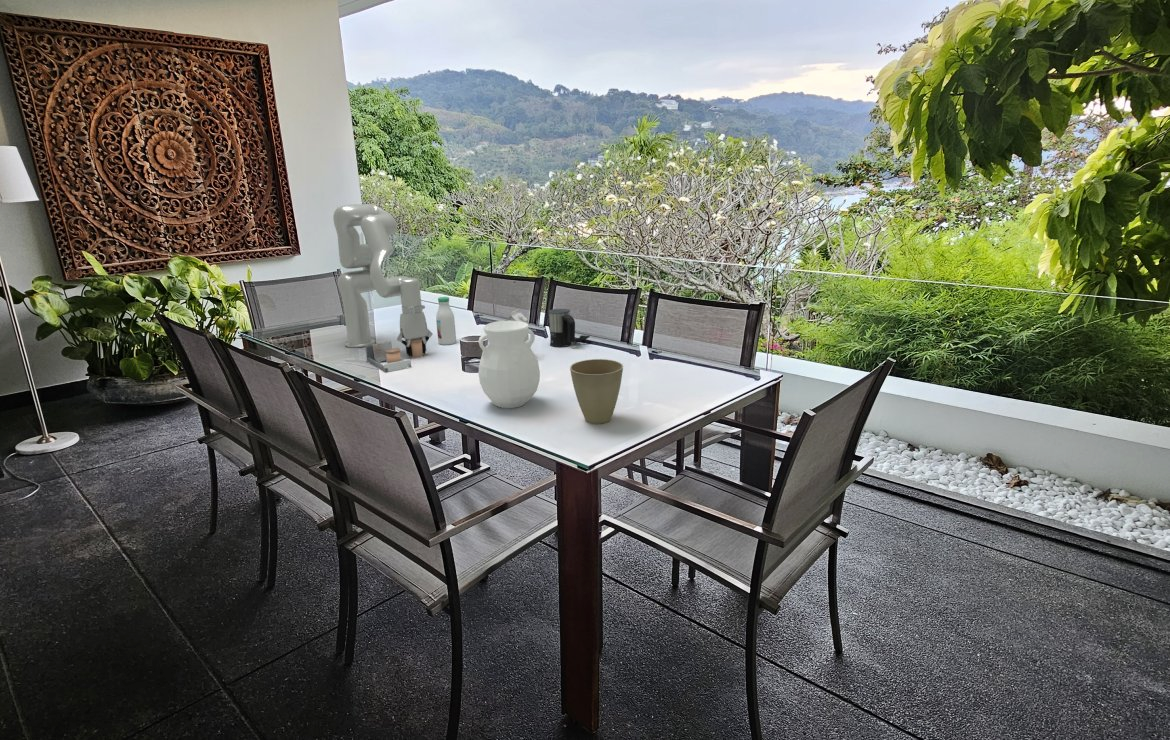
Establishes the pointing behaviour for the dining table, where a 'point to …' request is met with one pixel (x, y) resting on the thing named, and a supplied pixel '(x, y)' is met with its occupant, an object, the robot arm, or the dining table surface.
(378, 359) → the pusher plate
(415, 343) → the jar
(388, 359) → the jar
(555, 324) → the milk frother
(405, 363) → the grey holder stand
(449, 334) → the milk bottle
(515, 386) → the white vase
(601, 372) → the plant pot
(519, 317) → the milk carton
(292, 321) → the dining table surface
